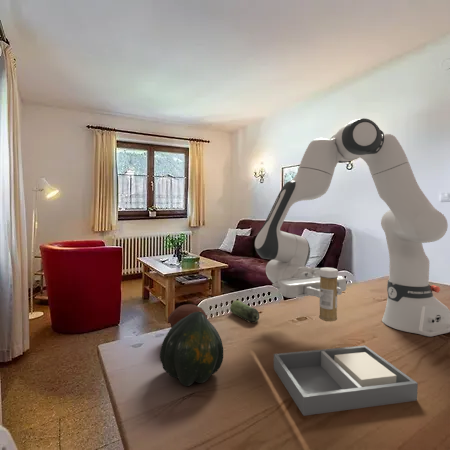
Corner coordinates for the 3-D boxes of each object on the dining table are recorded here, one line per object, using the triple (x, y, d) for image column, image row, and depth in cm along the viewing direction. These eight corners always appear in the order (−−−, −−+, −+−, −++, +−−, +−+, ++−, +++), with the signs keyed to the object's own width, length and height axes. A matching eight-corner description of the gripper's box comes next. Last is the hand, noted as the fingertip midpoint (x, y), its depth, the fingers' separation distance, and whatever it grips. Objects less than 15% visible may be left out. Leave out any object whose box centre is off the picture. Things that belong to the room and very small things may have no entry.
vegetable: (227, 313, 109) (227, 300, 108) (238, 311, 111) (239, 298, 111) (251, 326, 97) (251, 311, 97) (263, 323, 100) (263, 308, 99)
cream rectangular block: (364, 366, 71) (365, 352, 71) (395, 392, 61) (396, 375, 61) (334, 369, 69) (334, 355, 69) (360, 396, 60) (361, 379, 59)
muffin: (189, 328, 95) (189, 297, 95) (215, 338, 88) (215, 305, 88) (159, 341, 86) (159, 307, 85) (186, 353, 79) (185, 316, 78)
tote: (364, 362, 74) (365, 345, 74) (416, 405, 58) (417, 383, 58) (273, 372, 70) (273, 354, 70) (303, 420, 54) (303, 397, 54)
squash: (149, 375, 59) (197, 314, 62) (147, 344, 74) (186, 296, 76) (202, 411, 62) (246, 352, 65) (190, 375, 77) (226, 328, 79)
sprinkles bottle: (340, 319, 78) (341, 269, 77) (329, 323, 75) (330, 271, 74) (326, 314, 81) (327, 266, 80) (315, 317, 79) (316, 268, 78)
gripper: (269, 273, 86) (296, 285, 73) (326, 267, 93) (361, 277, 80) (269, 294, 86) (296, 310, 74) (326, 287, 94) (360, 300, 81)
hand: (330, 293), depth 77 cm, fingers closed on sprinkles bottle, 4 cm apart
